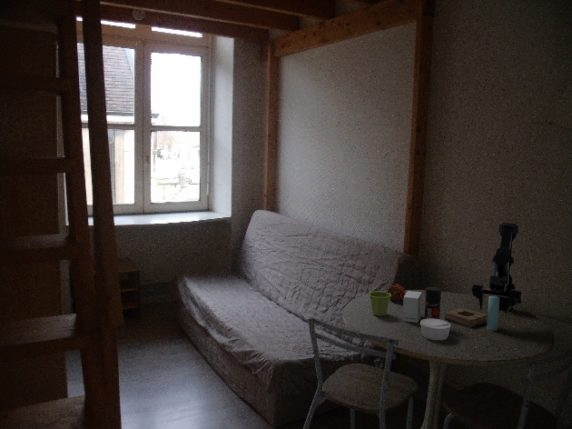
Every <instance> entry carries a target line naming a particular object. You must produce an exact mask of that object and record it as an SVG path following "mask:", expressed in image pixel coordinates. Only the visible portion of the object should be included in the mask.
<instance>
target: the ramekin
mask: <svg viewBox="0 0 572 429" xmlns="http://www.w3.org/2000/svg"><path fill="white" fill-rule="evenodd" d="M419 323H420V324H419V325H420V329H421V335H422V337H424V338H425V339H427V340H430V339H431V340H432V341H437V340H440V341H445V340H447V339H448V337H449V333H450V331H451V323H449V321H447V320H445V319H440V320H439V319H420V322H419ZM431 340H430V341H431Z"/></svg>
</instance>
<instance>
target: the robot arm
mask: <svg viewBox="0 0 572 429" xmlns="http://www.w3.org/2000/svg"><path fill="white" fill-rule="evenodd" d="M498 233H499V236H500V244H499V247H498V248H497V249H496V250H495V254H493V256H492V263H493V271H494V272H493V275H490V276H489V280H488V281H489V282H488V283H489V285H488V286H489V288H484V285H483V284H476V283H474V284H472V286H471V292H472V295H473V297H474V298H475V299H478V303H479V310H480V311H482V310H483V304H484V298H485V297H484V296H485V295H489V296H497V297H499V298H500V299H499V310H502V311H504V315H507V314H508V313H509V311H511V309H513V307H514V306H515V305H517V306H518V305H521V304H522V303H523V299H524V297H523V296H524V295H523V292H522V291H521V290H517V289H516V285H515V283H514V280H513V278H512V276H511V267H512V266H513V265H514V264H515V262H516V259H515V258H514V256H513V243H514V242H515V241H516V239H517V238H518V235H519V234H520V225H518V224H517V223H514V222H502V223H501V224H498Z"/></svg>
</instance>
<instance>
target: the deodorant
mask: <svg viewBox="0 0 572 429" xmlns="http://www.w3.org/2000/svg"><path fill="white" fill-rule="evenodd" d="M441 297H442V289H441V288H440V287H436V286H427V287H425V297H424V298H425V300H424V302H425V303H424V319H439V320H441V317H440V316H441V302H442V301H441V299H442V298H441ZM424 319H423V320H424Z"/></svg>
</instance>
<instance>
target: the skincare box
mask: <svg viewBox="0 0 572 429" xmlns="http://www.w3.org/2000/svg"><path fill="white" fill-rule="evenodd" d="M402 301H403V304H402V305H403V306H402V307H403V308H402V310H403V312H402V321H403V322H408V323H416V324H418V323H420V322H419V321H421V318H422V311H423V309H422V306H423V302H422V301H423V292H422V291H413V290H407V291H406V292H405V296H404V299H403V300H402Z"/></svg>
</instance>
